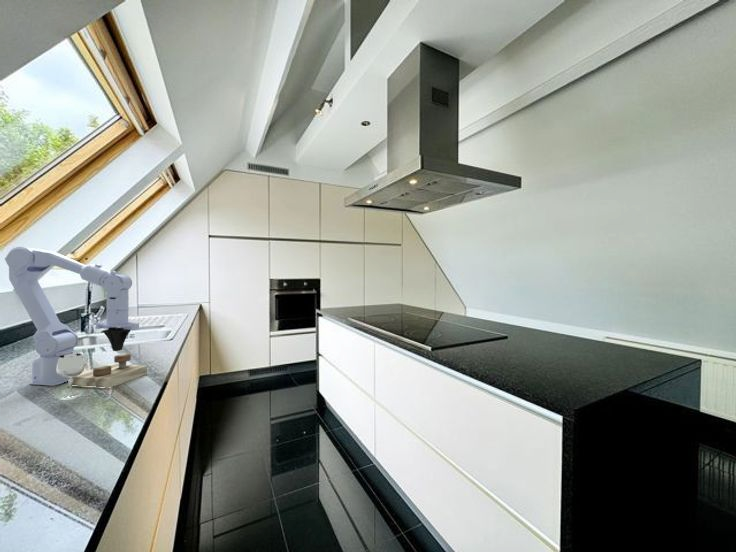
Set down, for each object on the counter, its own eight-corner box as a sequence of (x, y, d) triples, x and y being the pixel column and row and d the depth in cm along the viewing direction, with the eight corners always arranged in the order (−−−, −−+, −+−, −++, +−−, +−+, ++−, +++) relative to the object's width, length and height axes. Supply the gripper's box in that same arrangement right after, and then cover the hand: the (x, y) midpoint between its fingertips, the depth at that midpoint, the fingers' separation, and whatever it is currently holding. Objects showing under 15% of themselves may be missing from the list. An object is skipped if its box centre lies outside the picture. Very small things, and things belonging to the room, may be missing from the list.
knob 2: (110, 371, 102) (110, 356, 102) (122, 367, 107) (122, 352, 107) (122, 371, 102) (122, 356, 102) (133, 367, 106) (134, 353, 106)
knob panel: (68, 386, 95) (68, 376, 95) (111, 371, 109) (111, 363, 109) (108, 388, 93) (108, 379, 93) (146, 373, 107) (146, 365, 107)
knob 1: (89, 384, 96) (89, 368, 95) (103, 379, 100) (103, 364, 100) (101, 385, 95) (101, 369, 95) (114, 380, 99) (114, 365, 99)
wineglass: (51, 399, 85) (51, 357, 85) (77, 392, 90) (77, 352, 90) (63, 403, 83) (63, 359, 83) (89, 395, 88) (89, 354, 88)
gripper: (86, 311, 99) (86, 352, 99) (125, 312, 97) (125, 354, 97) (107, 308, 106) (107, 347, 106) (144, 309, 104) (144, 349, 104)
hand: (117, 350), depth 102 cm, fingers closed
